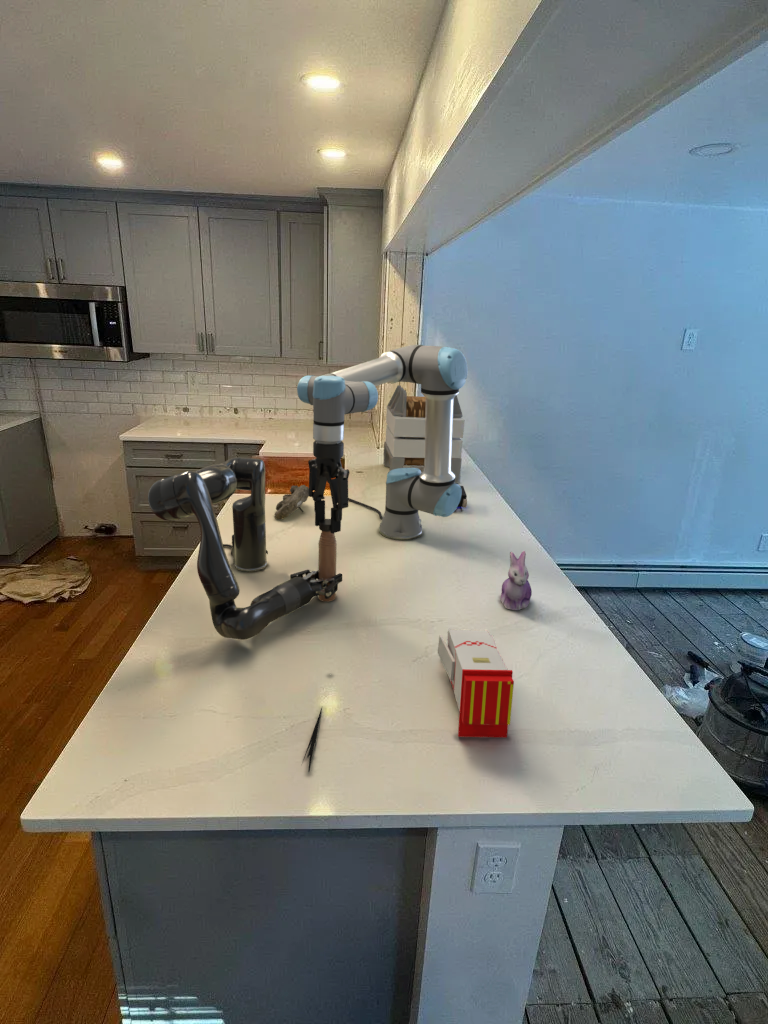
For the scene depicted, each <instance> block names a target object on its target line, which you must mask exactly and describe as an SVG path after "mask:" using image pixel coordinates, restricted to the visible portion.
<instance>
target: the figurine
mask: <svg viewBox="0 0 768 1024" xmlns="http://www.w3.org/2000/svg"><path fill="white" fill-rule="evenodd" d="M526 556H527V554H526V550H523V551H521V553H520V555H519V557H518V558H517V556H516V555H515V553H514V552H513V551H510V552H509V562H510V567H509V569H508V572H507V577H508V578H506V579H505V580H504V581H503V582H502V584H501V593H500V602H501V603H502V605H504V608H506V609H507V610H511V611H520V610H521V609H522V610H523V609H526V608H527V607H528V606H529V604H530V601H531V599H532V594H533V593H532V592H533V591H532V587H531V584H530V582H529V580H528V579H529V577H530V573H529V570H528V568H527V566H526V558H527V557H526Z"/></svg>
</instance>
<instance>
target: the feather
mask: <svg viewBox="0 0 768 1024" xmlns="http://www.w3.org/2000/svg"><path fill="white" fill-rule="evenodd" d="M329 675H330V676H331V675H332V674H331V673H330V674H329ZM322 710H323V707H321V708H320V710H319V713H318V716H317V719H316V723H315V725H314V728H313V731H312V733H311V737H310V739H309V742H308V745H307V748H306V751H305V754H304V757H303V760H302V763H301V767H302V765H303V763H304V761H305V758H308V759H309V760H308V762H307V763H308V764H307V766H308V771H310V770H311V766H312V765H311V764H312V760H313V757H315V756H314V755H315V751H316V749H315V746H317V739H318V733H319V729H320V722H321V717H322V712H323V711H322ZM313 754H314V755H313ZM306 755H307V757H306Z"/></svg>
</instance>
